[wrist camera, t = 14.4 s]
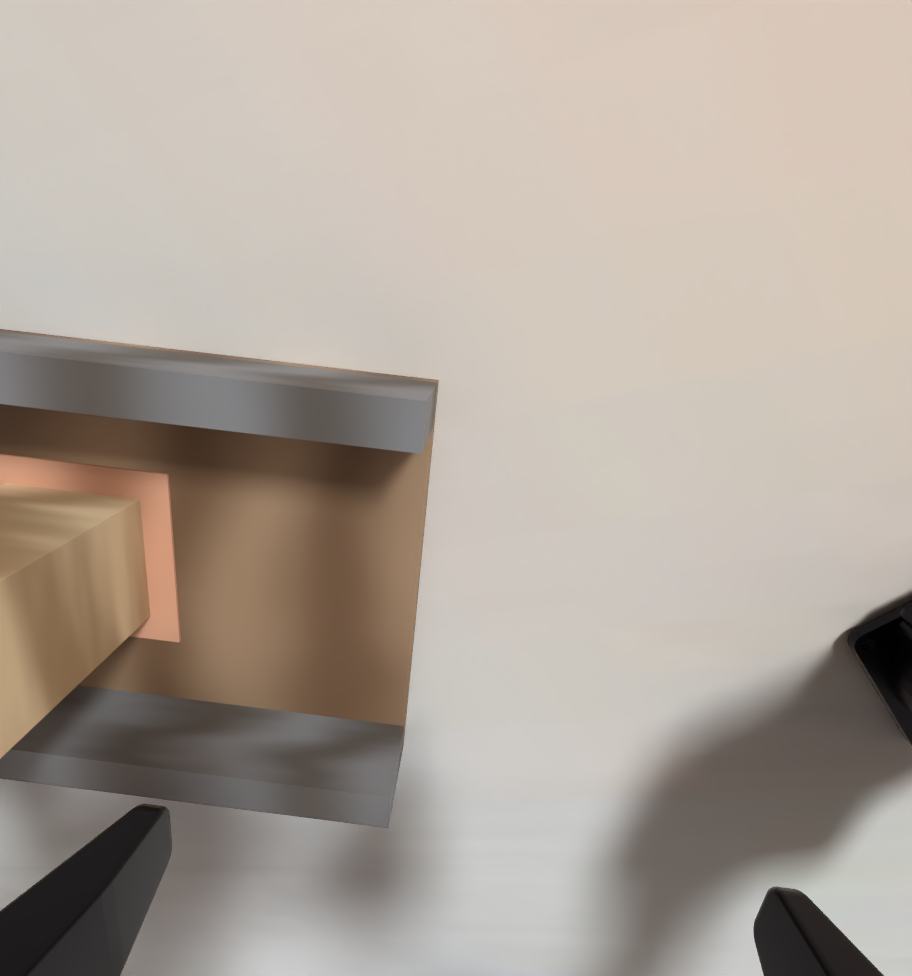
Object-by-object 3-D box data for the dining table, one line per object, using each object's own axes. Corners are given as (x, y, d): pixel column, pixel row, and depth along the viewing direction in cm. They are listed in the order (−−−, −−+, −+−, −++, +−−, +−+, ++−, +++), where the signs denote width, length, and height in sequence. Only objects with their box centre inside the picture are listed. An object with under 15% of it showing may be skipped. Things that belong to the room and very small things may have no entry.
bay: (438, 380, 19) (426, 401, 15) (403, 744, 24) (388, 828, 20) (-105, 316, 19) (-252, 322, 15) (-21, 691, 24) (-113, 763, 21)
